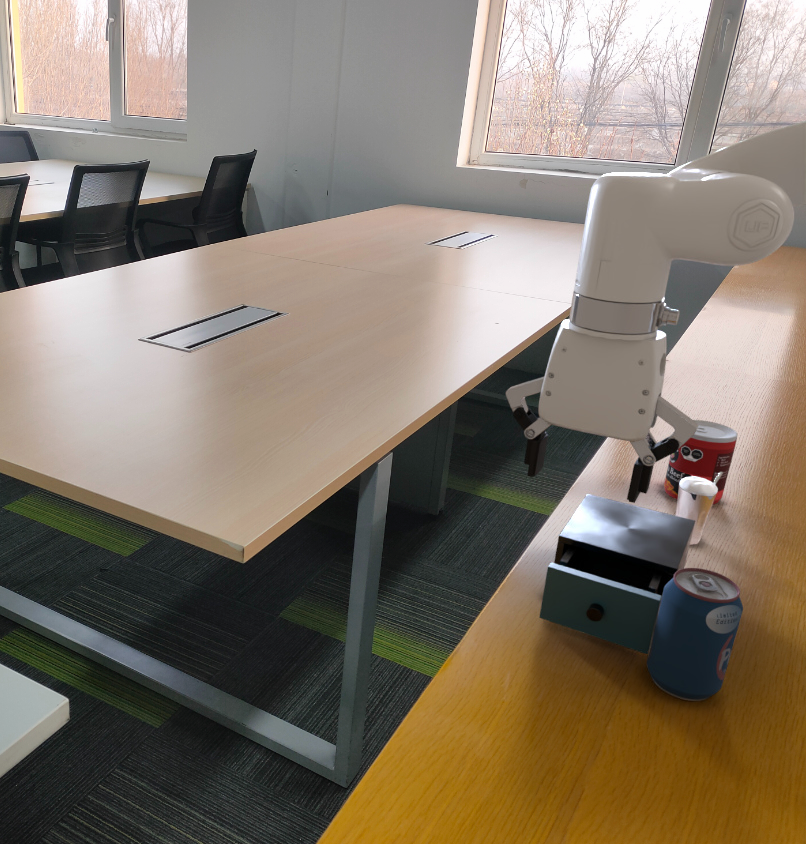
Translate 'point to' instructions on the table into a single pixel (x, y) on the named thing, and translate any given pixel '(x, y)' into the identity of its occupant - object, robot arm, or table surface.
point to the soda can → (694, 633)
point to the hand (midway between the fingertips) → (582, 484)
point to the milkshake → (696, 502)
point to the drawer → (603, 597)
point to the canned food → (702, 457)
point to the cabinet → (628, 534)
